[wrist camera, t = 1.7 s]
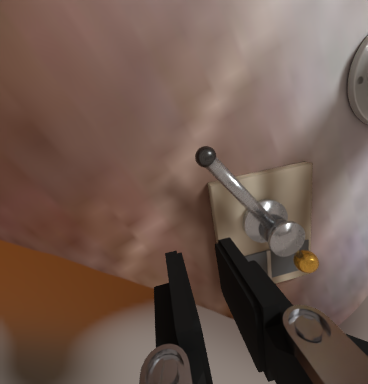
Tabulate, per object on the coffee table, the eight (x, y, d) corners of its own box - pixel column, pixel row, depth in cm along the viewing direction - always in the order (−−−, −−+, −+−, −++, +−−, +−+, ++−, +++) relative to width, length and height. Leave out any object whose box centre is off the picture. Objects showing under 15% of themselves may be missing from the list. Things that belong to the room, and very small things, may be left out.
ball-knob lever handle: (315, 244, 30) (341, 261, 26) (285, 271, 31) (306, 292, 27) (212, 128, 23) (226, 127, 19) (175, 166, 23) (181, 174, 19)
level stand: (304, 161, 28) (314, 163, 26) (303, 267, 34) (311, 275, 32) (207, 182, 27) (211, 186, 25) (223, 290, 32) (227, 299, 30)
